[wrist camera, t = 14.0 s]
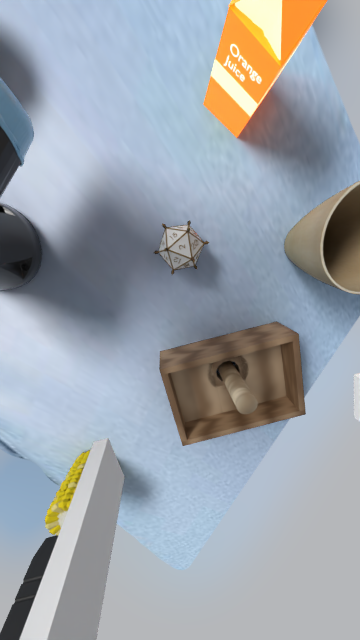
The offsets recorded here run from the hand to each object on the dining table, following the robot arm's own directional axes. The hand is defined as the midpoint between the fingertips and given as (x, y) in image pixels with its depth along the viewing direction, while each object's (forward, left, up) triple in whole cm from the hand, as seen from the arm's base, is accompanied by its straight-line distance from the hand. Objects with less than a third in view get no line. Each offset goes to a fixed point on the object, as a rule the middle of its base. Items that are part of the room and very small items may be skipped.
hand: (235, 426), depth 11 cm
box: (+6, -19, -35) cm, 40 cm away
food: (-31, -34, -35) cm, 58 cm away
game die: (+2, +10, -35) cm, 36 cm away
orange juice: (+17, +31, -35) cm, 50 cm away
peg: (+6, -17, -35) cm, 39 cm away
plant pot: (+26, +5, -35) cm, 44 cm away
